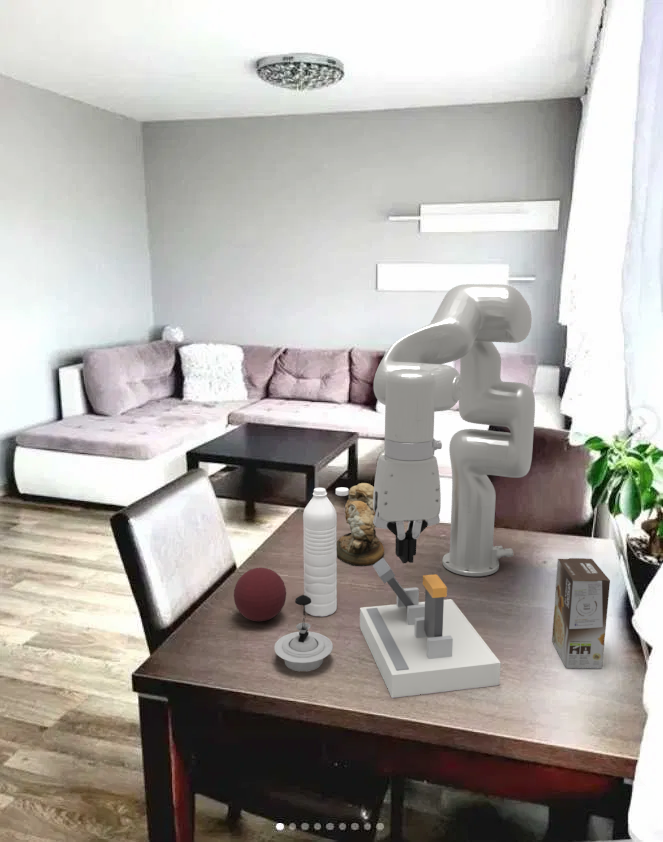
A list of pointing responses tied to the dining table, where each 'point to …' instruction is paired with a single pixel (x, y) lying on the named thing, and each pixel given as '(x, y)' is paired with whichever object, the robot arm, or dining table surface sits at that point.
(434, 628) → the lever
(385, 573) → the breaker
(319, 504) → the water bottle
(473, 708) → the dining table surface
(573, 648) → the coffee box
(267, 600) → the decorative ball
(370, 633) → the box
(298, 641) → the gray round rimmed fixture
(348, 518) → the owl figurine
